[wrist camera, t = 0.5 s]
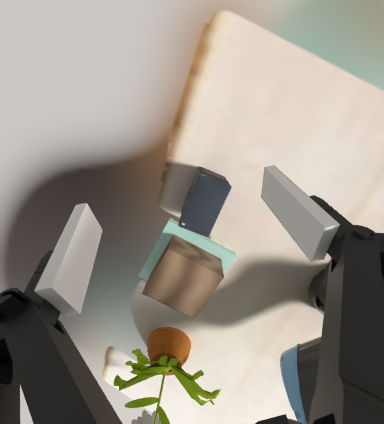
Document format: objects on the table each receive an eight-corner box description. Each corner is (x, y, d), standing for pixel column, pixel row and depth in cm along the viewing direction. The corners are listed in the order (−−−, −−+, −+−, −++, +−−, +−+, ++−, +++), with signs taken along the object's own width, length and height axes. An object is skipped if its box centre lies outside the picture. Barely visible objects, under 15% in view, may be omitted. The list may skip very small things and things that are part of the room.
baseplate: (235, 252, 49) (235, 255, 48) (198, 302, 55) (198, 306, 53) (170, 217, 47) (168, 220, 46) (139, 273, 53) (137, 276, 51)
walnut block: (221, 259, 48) (223, 277, 42) (194, 296, 52) (193, 318, 46) (173, 233, 47) (168, 248, 40) (150, 274, 51) (142, 293, 44)
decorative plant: (126, 360, 64) (80, 487, 40) (133, 301, 56) (81, 417, 33) (208, 377, 64) (210, 513, 41) (227, 321, 56) (243, 449, 33)
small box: (208, 219, 47) (209, 239, 37) (182, 209, 46) (175, 227, 36) (227, 177, 43) (233, 187, 33) (199, 165, 43) (197, 172, 33)
